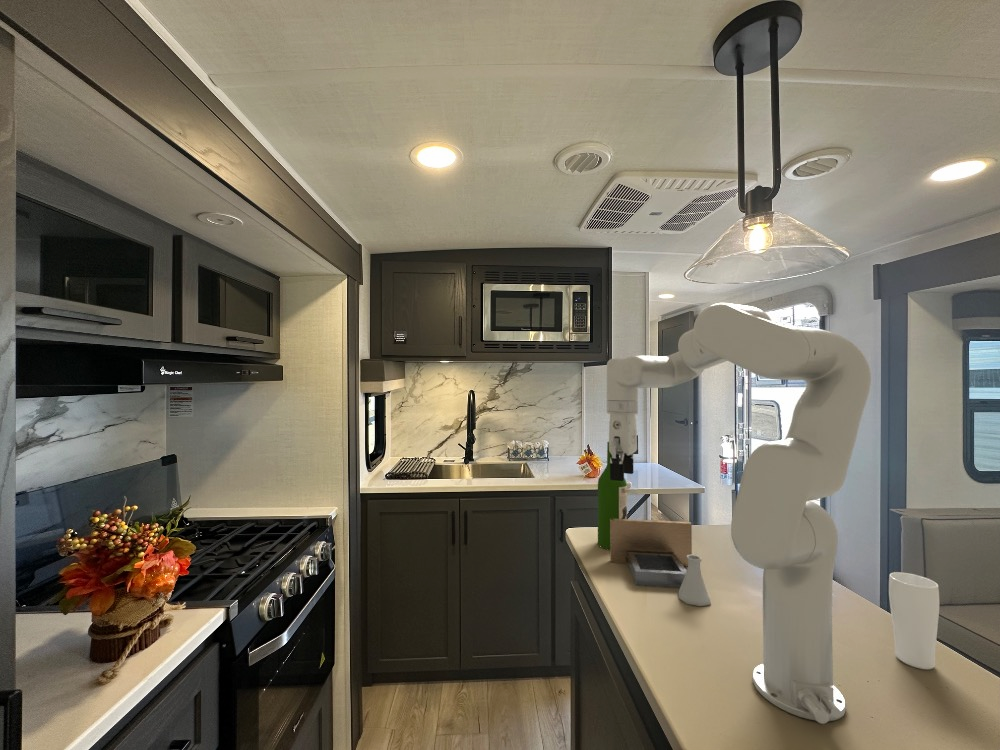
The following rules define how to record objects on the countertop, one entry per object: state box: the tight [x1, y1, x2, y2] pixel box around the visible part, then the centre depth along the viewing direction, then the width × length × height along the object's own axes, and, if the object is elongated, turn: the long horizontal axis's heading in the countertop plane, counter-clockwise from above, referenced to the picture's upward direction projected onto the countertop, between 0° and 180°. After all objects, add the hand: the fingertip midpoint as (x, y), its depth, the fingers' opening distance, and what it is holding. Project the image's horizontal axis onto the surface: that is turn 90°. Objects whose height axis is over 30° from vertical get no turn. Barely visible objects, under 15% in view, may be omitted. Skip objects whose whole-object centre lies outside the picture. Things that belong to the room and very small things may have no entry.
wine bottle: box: [597, 441, 628, 550], centre depth 139 cm, size 9×9×32 cm
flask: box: [677, 554, 712, 607], centre depth 104 cm, size 7×7×10 cm
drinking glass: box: [888, 571, 940, 670], centre depth 81 cm, size 7×7×15 cm
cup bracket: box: [609, 518, 693, 589], centre depth 118 cm, size 15×22×12 cm
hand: (622, 476), depth 109 cm, fingers open, 9 cm apart
